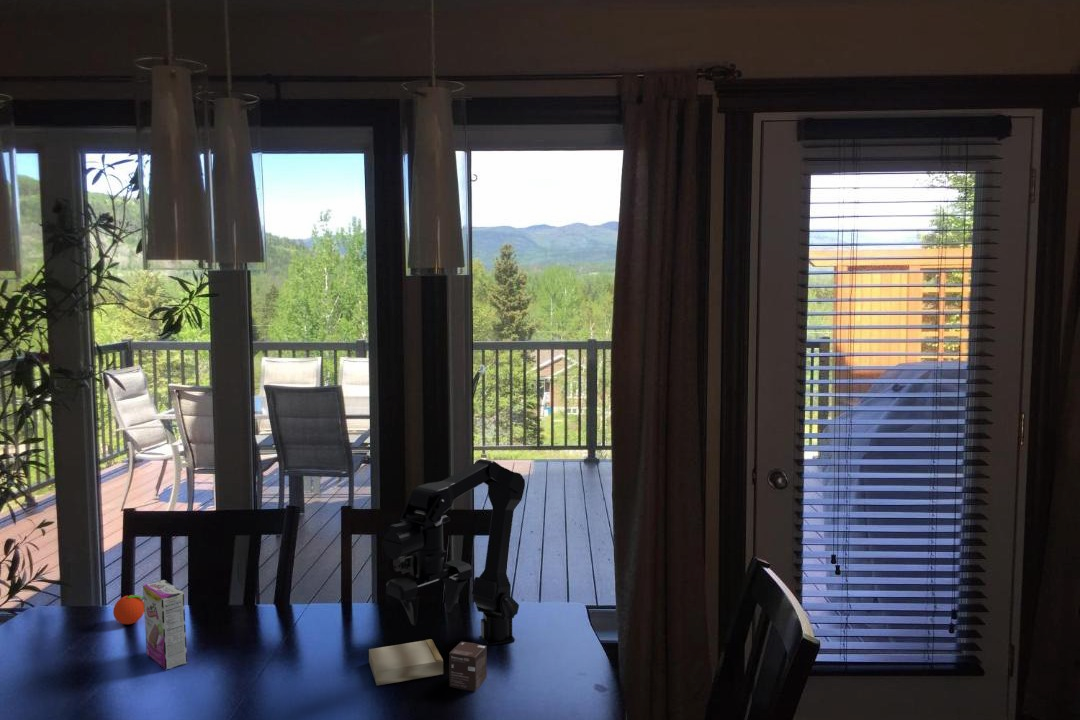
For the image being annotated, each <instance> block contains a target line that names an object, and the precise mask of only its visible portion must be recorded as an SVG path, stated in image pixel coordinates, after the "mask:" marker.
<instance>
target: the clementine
mask: <svg viewBox="0 0 1080 720" xmlns="http://www.w3.org/2000/svg"><path fill="white" fill-rule="evenodd" d="M112 612H113V617H114V619H115V621H117V622H118V623H119V624H123V625H132V624H135V623H137V622H138V621H139V620H141V618H142V617H143V616H144V598H143V596H142V595H137V594H128V595H124V596H123V597H121V598H119V599H118V601H116V603H115V604H114V606H113V611H112Z"/></svg>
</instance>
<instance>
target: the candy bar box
mask: <svg viewBox="0 0 1080 720" xmlns="http://www.w3.org/2000/svg"><path fill="white" fill-rule="evenodd" d="M142 591H143V593H142V595H143V596H142V597H143V598H144V599H143V598H142V599H143V602H144V614H143V616H144V630H145V646H146V647H145V648H146V656H148V657H149V656H150V657H151V658H150V657H149V658H150V659H151V660H153V661H154V662H155V663H156V662H157V663H156V664H157V665H159V666H162V667H161V668H163V669H164V671H168V670H167V669H170V670H172V669H171V668H173V669H175V668H177V666H178V667H180V666H183V665H186V664H188V651H187V647H188V646H187V636H186V635H187V632H186V631H187V630H186V629H187V627H186V613H185V612H186V610H185V609H186V608H185V607H186V606H185V592H184V591H183V590H180V589H179V588H177V587H176V586H174V585H173V584H171V583H169V582H168V580H165V579H161V580H158V581H153V582H151V583H146V584H143V585H142ZM174 667H175V668H174Z"/></svg>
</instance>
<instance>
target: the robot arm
mask: <svg viewBox="0 0 1080 720" xmlns="http://www.w3.org/2000/svg"><path fill="white" fill-rule="evenodd" d="M483 483H484V484H485V485H486V486H487V497H488V498H489V501H490V504H491V507H492V510H491V518H490V526H489V533H488V539H487V540H488V541H487V542H488V543H487V548H486V556H485V563H484V564H485V565H484V570H483V571H482V572H481V574H480V575H479V576H475V577H474V579H473V588H472V592H471V595H472V599H473V600H472V601H473V603H474V604H475V607H476V609H477V612H479V613H482V618H481V619H480V636H481V638H482V639H483V640H484V641H485V643H486V644H487V646H494V645H500V644H507V643H513V642H515V641H516V639H515V637H514V636H513V619H514V618H515V616H516V615H518V614H519V613H518V612H519V608H520V607H519V606H520V604H519V603H518V602H517V601H516V600H515V599H514V598H513V597H511V590H512V589H511V587H512V586H511V582H510V580H509V577H508V575H507V565H508V559H509V558H508V557H509V551H510V549H509V548H510V541H511V533H512V526H513V518H514V512H515V509H516V508H517V507H518V505H519V504H520V503H521V502H522V500H523V495H524V492H525V487H526V479H525V478H524V477H523V475H522V473H520V472H516V471H512V470H510V469H509V468H506V467H504V466H501V464H499V463H498V462H497V461H495V460H489V459H483V458H482V459H481V458H480V459H478V460H475V462H474V463H472V464H470V465H469V466H467V467H465V468H463V469H461V470H460V471H458V472H456V473H455V474H453V475H449V477H447V478H445V479H443V480H441V481H434V482H427V483H424V484H421V485H418V486H415V488H413V489H412V491H411V495H410V496H409V499H408V501H407V502H406V505H405V507H404V509H403V511H402V513H401V515H400V518H399V520H400V521H401V522H399V523H393V524H391V525H389V531H387V532H386V533H385V535H384V536H383V540H382V547H383V550H384V552H385V555H386V556H387V558H389V559H390V560H393V563H392V565H393V569H394V571H395V572H401V574H402V575H404V574H406V573H409V575H411V576H413V577H414V576H416V578H412V579H411V578H408V577H405V576H399V577H396V578H392V579H390V580H388V581H387V582H386V586H385V592H386V593H385V594H386V595H388V596H389V597H393V598H395V599H397V600H399V601H400V602H401V603H402V605H403V608H404V609H405V612H406V614H407V616H408V619H409V622H410V624H411V625H412V626H416V625H417V621H418V614H419V613H418V612H419V605H420V604H419V603H420V602H419V601H420V596H417V594H418V592H419V588H421V587H423V586H427V585H430V584H432V583H436V582H439V581H441V580H442V582H443V584H444V594H445V595H444V596H445V598H444V599H445V600H444V601H445V611H446V612H448V613H451V612H452V610H453V608H454V606H455V603H456V601H457V599H458V596H459V595H460V593H461V591H462V590H463V588H464V586H465V584H467V583H468V581H469V580H468V579H470V578H473V568H472V565H471V564H470V563H468V562H465V561H463V560H460V559H457V558H455V559H453V560H452V559H451V560H449V561H446V562H445V561H444V559H445V558H444V557H448V550H446V549H444V525H443V524H445V523H448V522H450V521H451V518H450V517H449V516H447V515H446V514H445V513H446V512H447V511H448V510H450V508H452V505H453V503H454V502H455V500H456V499H458V498H459V497H461V496H463V495H465V494H467V493H468V492H471V490H473V489H475V488H476V487H479V486H480V485H482V484H483ZM415 513H416V514H415ZM418 514H420V515H418ZM422 515H425V516H422ZM409 555H410V556H409Z"/></svg>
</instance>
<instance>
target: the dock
mask: <svg viewBox="0 0 1080 720" xmlns="http://www.w3.org/2000/svg"><path fill="white" fill-rule="evenodd" d="M368 663H369V666H370V669H371V672H372V673H371V674H372V676H373V678H374V682H375V685H376V686H382V685H388V684H393V683H395V684H396V683H400V682H406V681H412V680H417V679H423V678H428V677H429V678H430V677H434V676H440V675H444V659H443V657H442V655H441V653H440V652H439V649H438V648H437V647H436V645H435V643H434V640H433V639H431V638H430V639H425V640H419V641H413V642H406V643H401V644H395V645H389V646H388V645H387V646H381V647H375V648H369V649H368Z"/></svg>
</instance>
